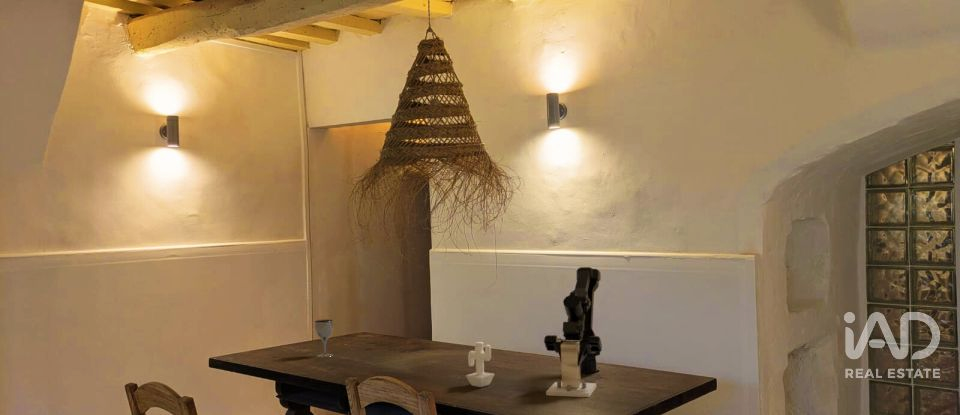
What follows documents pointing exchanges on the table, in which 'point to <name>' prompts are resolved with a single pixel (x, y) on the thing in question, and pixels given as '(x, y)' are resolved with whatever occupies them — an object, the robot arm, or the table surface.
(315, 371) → the table surface
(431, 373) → the table surface
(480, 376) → the figurine
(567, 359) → the maple block
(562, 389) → the stub base plate
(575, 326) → the robot arm
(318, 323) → the wine glass
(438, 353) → the table surface
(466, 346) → the table surface
